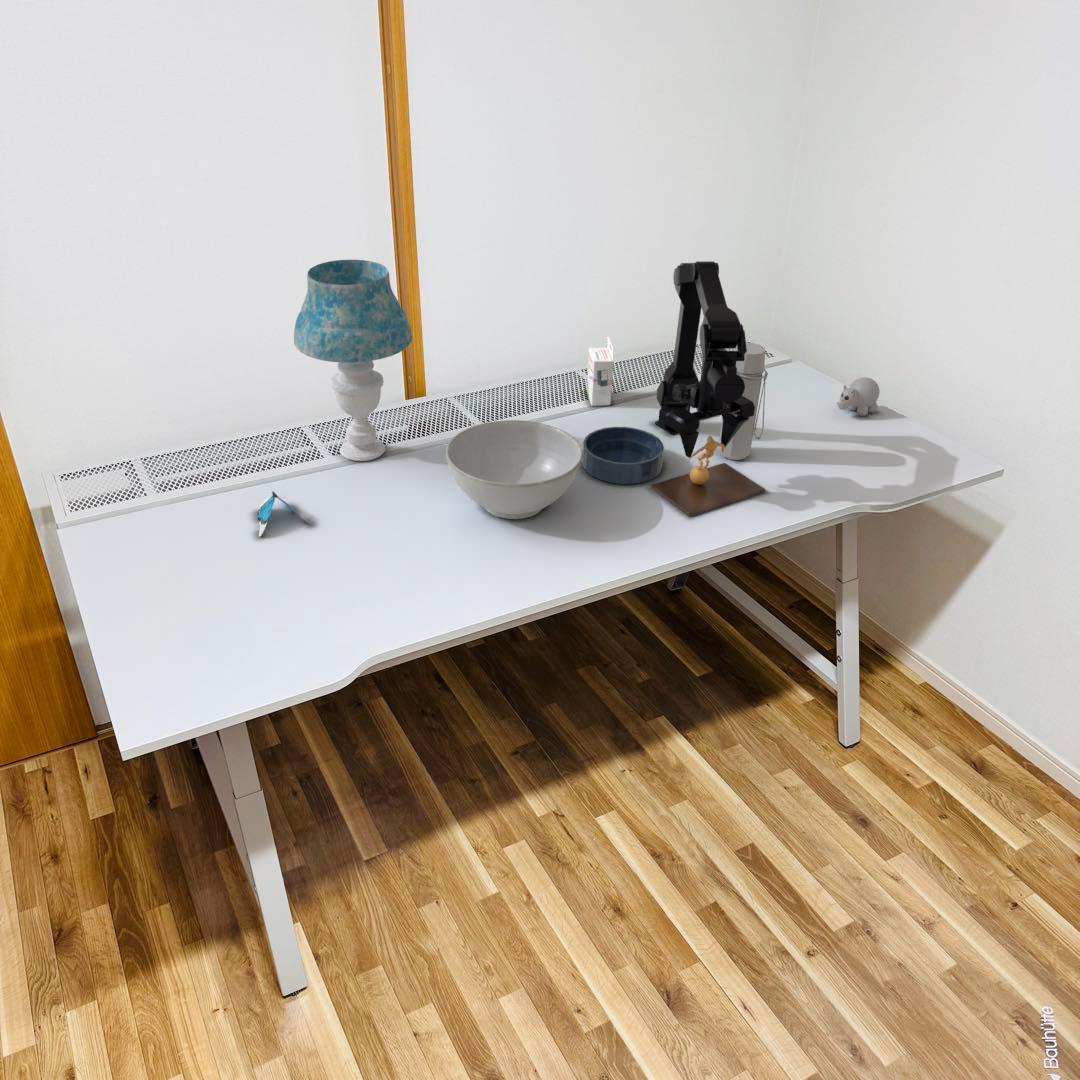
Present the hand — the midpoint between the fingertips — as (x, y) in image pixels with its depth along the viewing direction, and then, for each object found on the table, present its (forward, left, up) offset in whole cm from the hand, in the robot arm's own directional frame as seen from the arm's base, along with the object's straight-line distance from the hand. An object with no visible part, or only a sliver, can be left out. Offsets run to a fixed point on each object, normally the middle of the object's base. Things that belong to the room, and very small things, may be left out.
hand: (705, 451), depth 201 cm
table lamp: (+55, -49, -9) cm, 74 cm away
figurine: (0, 0, -8) cm, 8 cm away
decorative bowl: (+37, -14, -9) cm, 41 cm away
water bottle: (-17, -8, -9) cm, 21 cm away
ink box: (-6, -47, -9) cm, 48 cm away
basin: (+8, -17, -9) cm, 21 cm away
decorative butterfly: (+80, -31, -9) cm, 86 cm away
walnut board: (-1, +1, -9) cm, 9 cm away
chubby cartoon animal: (-56, -11, -9) cm, 58 cm away
